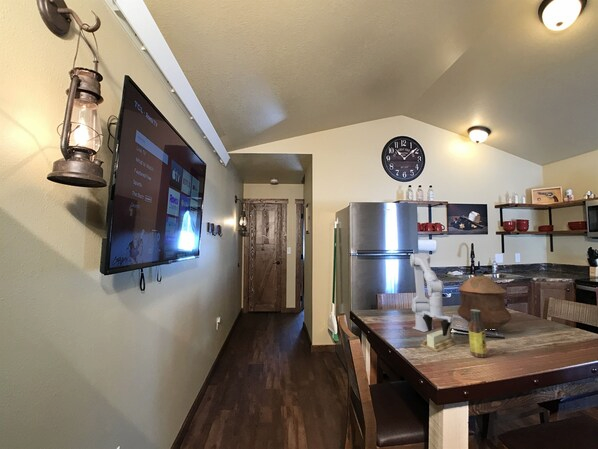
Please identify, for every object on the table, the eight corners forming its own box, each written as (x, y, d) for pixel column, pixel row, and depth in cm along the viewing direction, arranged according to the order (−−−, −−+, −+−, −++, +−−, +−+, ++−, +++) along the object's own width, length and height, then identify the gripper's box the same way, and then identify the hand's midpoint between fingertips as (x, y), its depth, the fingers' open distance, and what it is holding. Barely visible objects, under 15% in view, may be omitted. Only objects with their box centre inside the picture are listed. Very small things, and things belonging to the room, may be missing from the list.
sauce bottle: (487, 359, 112) (484, 313, 113) (470, 356, 115) (467, 311, 116) (486, 353, 117) (483, 309, 119) (469, 350, 121) (467, 307, 122)
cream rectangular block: (441, 339, 132) (440, 329, 133) (448, 342, 129) (447, 331, 130) (427, 345, 126) (426, 334, 126) (434, 347, 123) (433, 336, 123)
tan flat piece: (438, 339, 135) (438, 334, 135) (454, 344, 128) (454, 339, 128) (420, 345, 128) (420, 340, 128) (437, 351, 120) (437, 346, 120)
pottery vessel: (521, 339, 133) (518, 280, 135) (464, 334, 142) (461, 279, 144) (502, 323, 157) (498, 274, 159) (454, 320, 166) (451, 273, 168)
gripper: (417, 303, 133) (419, 330, 132) (446, 310, 121) (447, 339, 120) (426, 301, 137) (427, 327, 136) (454, 307, 124) (455, 336, 124)
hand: (437, 333), depth 128 cm, fingers open, 7 cm apart
